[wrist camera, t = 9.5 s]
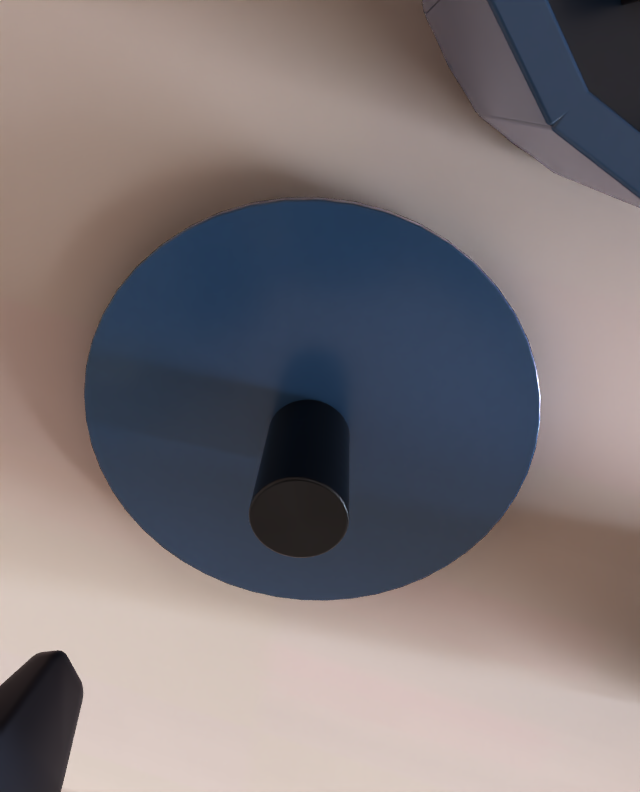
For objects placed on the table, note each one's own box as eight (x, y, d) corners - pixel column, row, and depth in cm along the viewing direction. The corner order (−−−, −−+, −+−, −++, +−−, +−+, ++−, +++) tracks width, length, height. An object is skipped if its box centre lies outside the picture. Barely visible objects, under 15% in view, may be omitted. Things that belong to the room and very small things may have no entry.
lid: (365, 630, 23) (369, 764, 18) (34, 463, 20) (-58, 572, 16) (628, 363, 18) (724, 458, 13) (226, 82, 15) (170, 79, 10)
